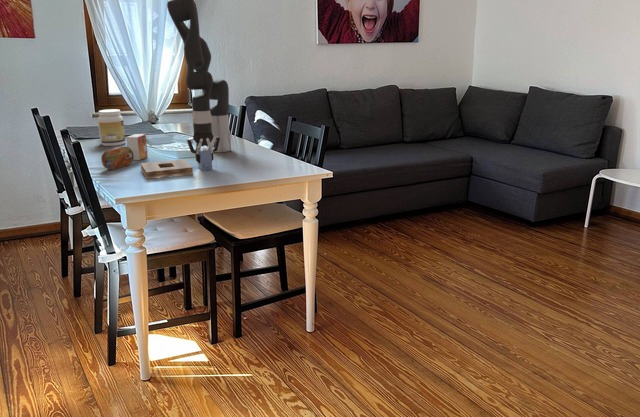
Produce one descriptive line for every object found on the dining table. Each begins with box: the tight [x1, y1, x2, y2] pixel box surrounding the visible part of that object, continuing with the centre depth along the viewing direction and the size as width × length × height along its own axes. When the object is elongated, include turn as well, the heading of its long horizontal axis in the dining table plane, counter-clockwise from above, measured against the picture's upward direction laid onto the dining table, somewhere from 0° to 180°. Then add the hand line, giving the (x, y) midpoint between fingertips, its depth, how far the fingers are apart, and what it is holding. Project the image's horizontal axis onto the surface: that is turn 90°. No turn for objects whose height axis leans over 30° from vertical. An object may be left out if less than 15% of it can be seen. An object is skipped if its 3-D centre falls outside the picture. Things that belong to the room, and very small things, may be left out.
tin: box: [101, 146, 134, 171], centre depth 249 cm, size 15×3×8 cm, turn 148°
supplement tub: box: [97, 108, 127, 147], centre depth 294 cm, size 12×12×17 cm
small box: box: [125, 133, 148, 161], centre depth 264 cm, size 8×6×10 cm
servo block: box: [197, 147, 213, 171], centre depth 246 cm, size 4×9×9 cm, turn 24°
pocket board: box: [140, 158, 194, 180], centre depth 240 cm, size 18×16×3 cm
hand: (204, 161), depth 246 cm, fingers closed on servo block, 4 cm apart
